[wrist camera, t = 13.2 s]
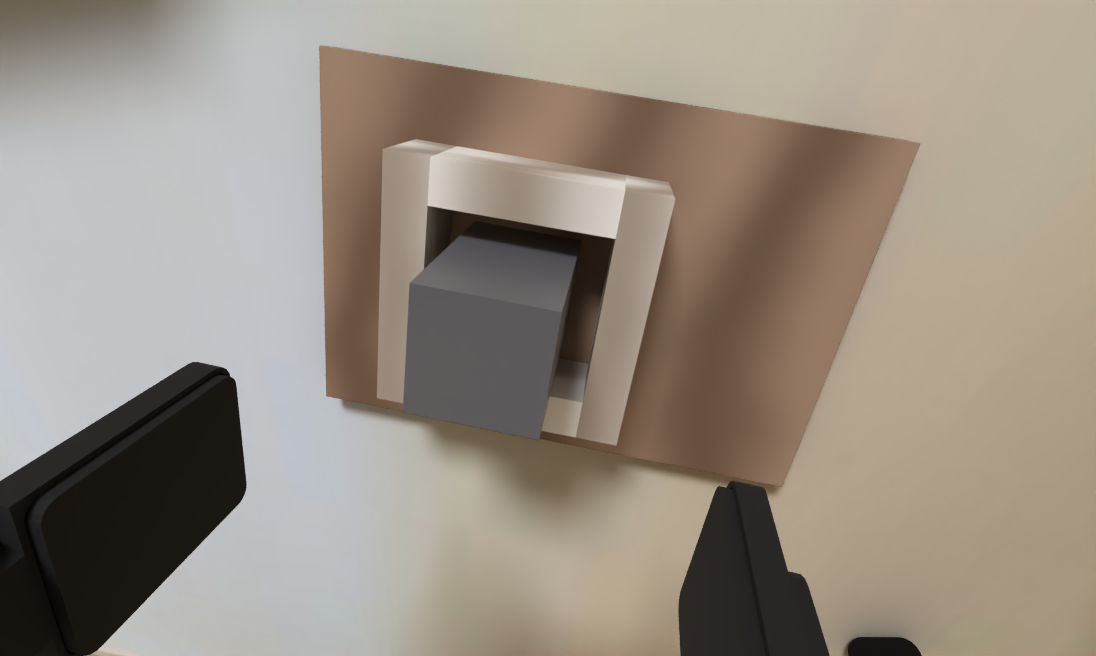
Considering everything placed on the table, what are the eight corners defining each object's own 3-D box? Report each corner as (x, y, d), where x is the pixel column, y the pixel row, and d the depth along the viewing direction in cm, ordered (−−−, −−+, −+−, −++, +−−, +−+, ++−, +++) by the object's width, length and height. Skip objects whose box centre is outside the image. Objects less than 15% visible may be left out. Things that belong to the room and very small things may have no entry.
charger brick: (581, 240, 21) (561, 311, 14) (563, 337, 22) (539, 440, 16) (475, 220, 21) (409, 283, 15) (465, 318, 23) (402, 412, 16)
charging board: (906, 140, 19) (971, 155, 15) (776, 471, 25) (801, 539, 21) (333, 47, 20) (268, 40, 17) (336, 384, 26) (289, 434, 22)
